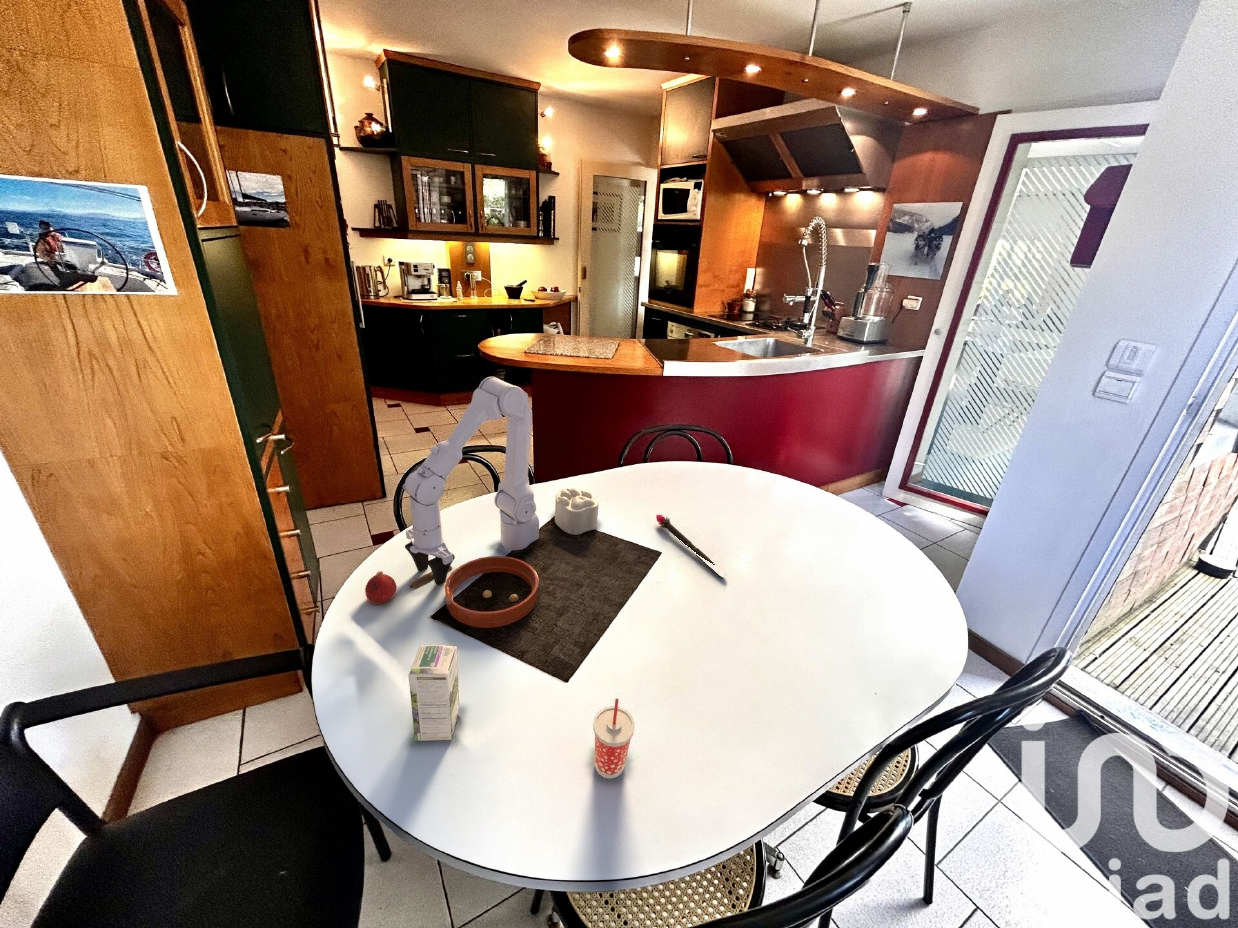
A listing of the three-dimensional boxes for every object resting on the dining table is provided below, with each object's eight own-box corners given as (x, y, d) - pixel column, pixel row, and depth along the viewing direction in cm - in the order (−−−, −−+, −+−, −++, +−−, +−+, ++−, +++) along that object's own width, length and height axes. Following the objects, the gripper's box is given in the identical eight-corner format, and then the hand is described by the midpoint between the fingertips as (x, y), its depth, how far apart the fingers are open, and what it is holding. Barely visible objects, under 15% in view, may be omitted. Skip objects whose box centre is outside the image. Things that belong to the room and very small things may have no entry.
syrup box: (424, 709, 81) (417, 643, 75) (461, 709, 82) (456, 643, 76) (414, 741, 76) (405, 673, 70) (453, 741, 77) (448, 673, 71)
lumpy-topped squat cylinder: (570, 536, 132) (571, 508, 128) (546, 515, 141) (547, 488, 137) (601, 526, 138) (604, 499, 134) (576, 506, 147) (578, 480, 143)
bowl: (498, 563, 119) (498, 546, 117) (556, 599, 109) (556, 581, 107) (427, 602, 105) (426, 583, 103) (486, 648, 94) (485, 628, 92)
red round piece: (386, 615, 100) (382, 583, 97) (361, 609, 101) (356, 578, 98) (403, 597, 105) (399, 566, 102) (379, 591, 106) (374, 561, 103)
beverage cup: (597, 739, 79) (603, 677, 73) (633, 752, 78) (642, 689, 72) (583, 775, 74) (589, 710, 68) (622, 789, 72) (631, 724, 66)
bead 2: (509, 597, 107) (511, 590, 106) (518, 599, 107) (520, 593, 106) (507, 604, 105) (508, 597, 104) (516, 606, 105) (517, 600, 104)
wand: (720, 573, 118) (651, 510, 140) (717, 586, 120) (649, 522, 142) (733, 568, 120) (662, 507, 142) (729, 581, 122) (660, 519, 144)
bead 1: (493, 588, 106) (493, 595, 107) (484, 587, 107) (484, 594, 108) (489, 595, 105) (490, 602, 106) (480, 593, 105) (481, 600, 106)
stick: (448, 568, 115) (448, 560, 114) (454, 573, 114) (454, 565, 113) (407, 589, 107) (406, 581, 106) (413, 595, 106) (413, 586, 105)
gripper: (390, 518, 105) (397, 570, 111) (430, 545, 98) (435, 599, 103) (420, 507, 111) (425, 557, 116) (460, 532, 103) (463, 583, 109)
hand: (431, 576), depth 110 cm, fingers open, 6 cm apart
